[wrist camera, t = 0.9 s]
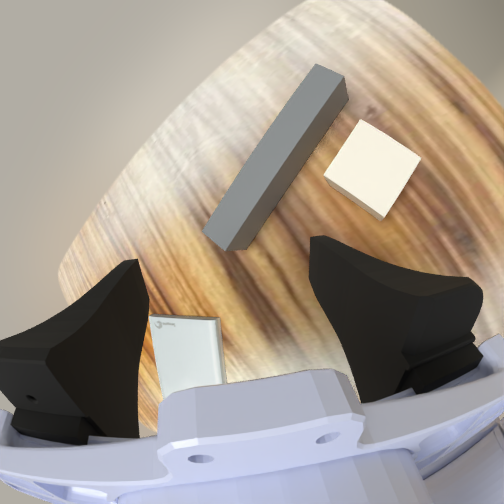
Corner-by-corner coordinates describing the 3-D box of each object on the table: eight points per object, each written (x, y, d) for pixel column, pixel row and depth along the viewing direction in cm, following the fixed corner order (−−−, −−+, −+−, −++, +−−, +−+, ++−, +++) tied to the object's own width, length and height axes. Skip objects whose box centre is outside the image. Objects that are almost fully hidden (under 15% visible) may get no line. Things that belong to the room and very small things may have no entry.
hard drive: (147, 315, 29) (165, 417, 29) (214, 319, 26) (228, 432, 26) (157, 312, 30) (173, 411, 30) (223, 315, 27) (235, 424, 27)
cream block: (412, 171, 20) (421, 158, 17) (380, 221, 21) (384, 217, 18) (361, 138, 22) (360, 119, 18) (330, 186, 23) (323, 175, 19)
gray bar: (348, 99, 22) (343, 76, 18) (246, 249, 26) (225, 251, 22) (324, 87, 22) (315, 63, 19) (225, 232, 26) (201, 231, 23)
